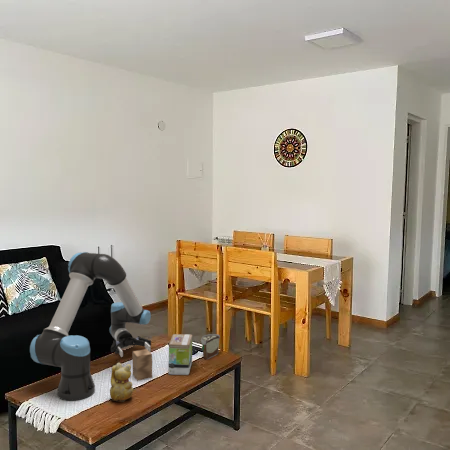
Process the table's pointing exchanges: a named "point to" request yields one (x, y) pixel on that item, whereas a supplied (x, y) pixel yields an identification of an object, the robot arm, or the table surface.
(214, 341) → the food container
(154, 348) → the table surface
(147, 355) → the walnut block
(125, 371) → the decorative figurine
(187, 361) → the tea box
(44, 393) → the table surface
